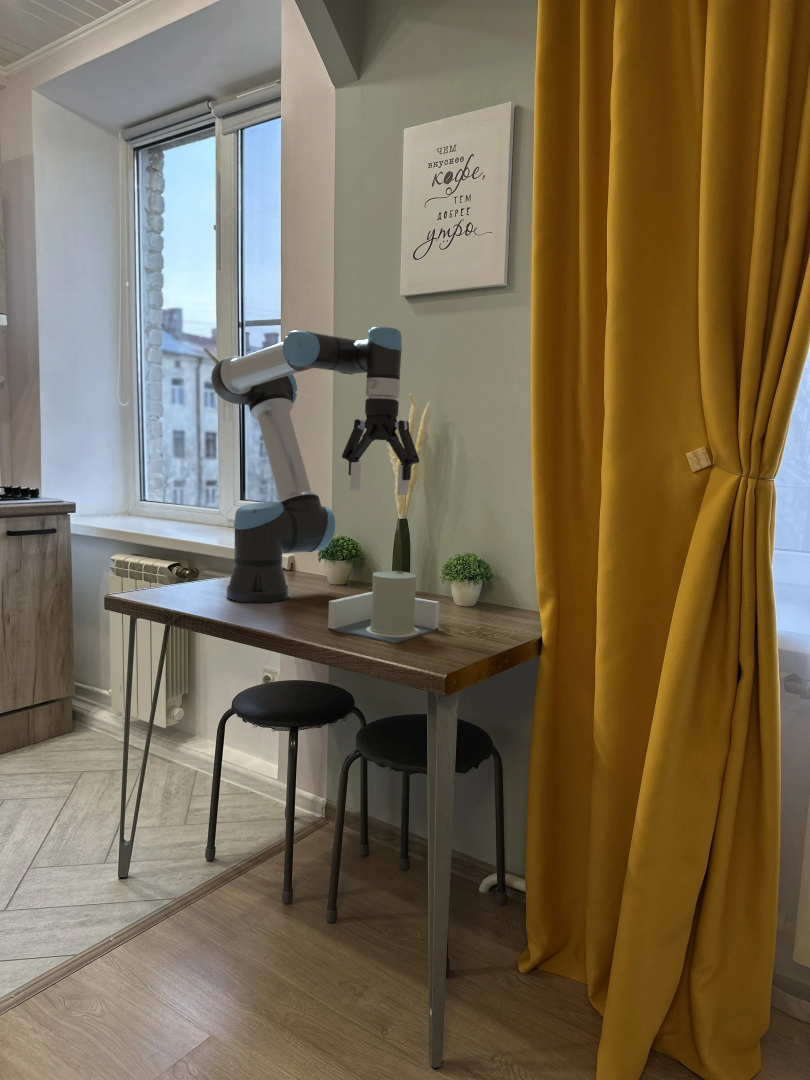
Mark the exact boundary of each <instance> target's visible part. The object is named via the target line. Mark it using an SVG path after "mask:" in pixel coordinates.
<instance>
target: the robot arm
mask: <svg viewBox="0 0 810 1080" xmlns="http://www.w3.org/2000/svg"><path fill="white" fill-rule="evenodd" d="M402 343H403V342H402V332H401V331H400V330H399V329H398V328H395V327H388V326H374V327H371V328H369V330H368V335H367V339H366V338H364V339H351V338H345V337H341V336H340V337H339V336H333V335H328V334H323V333H318V332H313V331H309V330H291V331H289V332H288V333H287V336H285V337H284V339H283V341H282V342H279V343H276V344H274V345H271V346H268V347H265V348H263V349H260V350H256V351H254V352H252V353H249V354H245V355H243V356H241V355H240V356H239V355H231V356H227V357H225V358H223V359H221V360H219V361H217V363H215V366H213V368H212V370H211V377H210V380H211V385H212V388H213V390H214V392H215V393H216V394H217V395H218V396H219V397H220V398H221V399H222V400H224V401H225V402H228V403H231V404H234V405H244V406H248V408H249V412H250V416H251V417H252V418H253V419H255V420H256V421H258V423H259V427H260V431H261V436H262V439H263V443H264V446H265V450H266V454H267V459H268V461H269V465H270V469H271V473H272V476H273V480H274V484H275V488H276V491H277V495H278V499H279V500H278V501H277V502H276V501H267V502H266V501H265V502H254V503H253V502H252V503H248V504H243V505H242V506H240V507H238V508H237V509H236V511H235V514H234V515H235V516H234V524H233V527H234V556H233V557H234V564H233V569H232V573H231V576H230V580H229V584H228V585H227V587H226V598H227V597H228V598H229V600H231V599H232V601H234V600H235V602H242V603H275V602H280V601H281V602H282V601H284V600H286V599H288V598H289V593H290V592H289V586H288V585H287V582H286V577H285V573H284V570H283V554H294V553H295V554H296V553H313V552H317V551H322V550H324V549H326V548H328V546H329V545H330V544H331V542H332V540H333V538H334V535H335V531H336V520H335V515H334V513H333V512H334V511H332V510H331V508H329V507H328V506H326V505H322V503H321V500H320V497H319V495H318V494H316V493H314V492H312V489H311V485H310V481H309V478H308V475H307V472H306V467H305V464H304V461H303V457H302V453H301V449H300V446H299V442H298V439H297V434H296V432H295V427H294V424H293V421H292V418H291V411H292V410H293V408H294V403H295V401H296V399H297V395H298V394H297V393H296V392H297V391H298V386H297V381H296V378H295V376H294V375H295V374H297V373H300V372H304V371H308V370H311V369H319V370H325V371H333V372H335V371H336V372H337V373H339V374H343V375H345V374H346V375H355V374H366V385H365V386H366V387H365V388H366V389H365V396H366V397H368V398H366V400H365V409H364V414H365V417H366V418H365V420H364V419H359V418H356V419H354V423H353V429H352V432H351V434H350V436H349V438H348V441H347V444H346V446H345V447H344V450H343V451H342V455H341V457H342V459H345V460H347V461H348V476H349V477H350V483H349V485H350V486H349V491H360V490H361V470H362V469H361V468H362V462H360V459H361V457H362V456H363V455H364V454H365V452H366V450H368V448H369V447H370V446H371V443H372V442H374V441H386V442H388V443H389V445H390V447H391V448H392V450H393V451H394V453H395V455H396V457H397V458H398V460H399V462H400V463H401V464H400V465H398V473H397V475H398V476H397V493H396V494H397V496H407V495H408V484H409V483H408V481H410V480H411V476H412V475H411V474H412V467H413V465H416V464H418V463H419V462H420V459H419V458H420V457H419V456H418V451H417V450H416V446H415V444H414V441H413V438H412V434H411V432H410V423H409V421H408V420H399V421H398V420H397V418H398V416H399V405H400V403H399V400H397V399H398V398H400V382H401V381H400V379H401V364H402V363H401V361H402V350H403V347H402ZM365 429H366V431H365ZM364 431H365V432H364ZM396 431H398V434H399V436H398V434H397V433H396ZM400 440H401V441H400ZM228 598H227V599H228Z"/></svg>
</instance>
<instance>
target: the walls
mask: <svg viewBox="0 0 810 1080" xmlns="http://www.w3.org/2000/svg"><path fill="white" fill-rule="evenodd" d="M371 614H372V591H369V592H364V593H359V594H355V595H351V596H350V595H349V596H346V597H340V598H337V599H332V600H329V601H328V624H327V625H328V626H327V630H328V629H331V630H330V631H333V630H332V629H335V628H339V627H342V626H346V625H350V624H353V623H357V622H361V621H365V620H368V619H371ZM439 618H440V601H438V600H436V601H435V600H431V599H425V598H420V597H419V598H418V597H415V611H414V625H417V626H422V627H427V628H433V629H435V630H434V631H433V632H435V631H437V630H436V628H438V629H439V623H440V622H439Z"/></svg>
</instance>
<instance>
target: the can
mask: <svg viewBox="0 0 810 1080" xmlns="http://www.w3.org/2000/svg"><path fill="white" fill-rule="evenodd" d="M417 576H418V575H416V574H415V573H412V572H407V571H399V570H381V571H375V572H373V573H372V588H371V589H372V591H371V592H372V614H371V626H370V629H371V630H372V631H374V632H376V633H381V634H388V635H404V634H409V633H412V632H414V630H415V629H414V611H415V598H416V590H417V579H418V577H417Z"/></svg>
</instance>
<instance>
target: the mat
mask: <svg viewBox="0 0 810 1080" xmlns="http://www.w3.org/2000/svg"><path fill="white" fill-rule="evenodd" d="M370 626H371V619H368V620H365V621H361V622H357V623H353V624H350V625H346V626H342V627H339V628H335V629H332V630H331V629H328V628H327V630H329V631H333V632H338V633H343V634H348V635H353V636H358V637H362V638H367V639H371V640H377V641H381V642H385V643H391V644H398V643H402V642H405V641H408V640H412V639H414V638H417V637H420V636H423V635H425V634H428V633H431V632H435V631H438V630H439V627H438V628H436V630H435V629H433V628H427V627H422V626H417V625H414V629H415V630H414V632H412V633H409V634H404V635H388V634H381V633H376V632H374V631H372V630H371V629H370ZM434 630H435V631H434Z"/></svg>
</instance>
